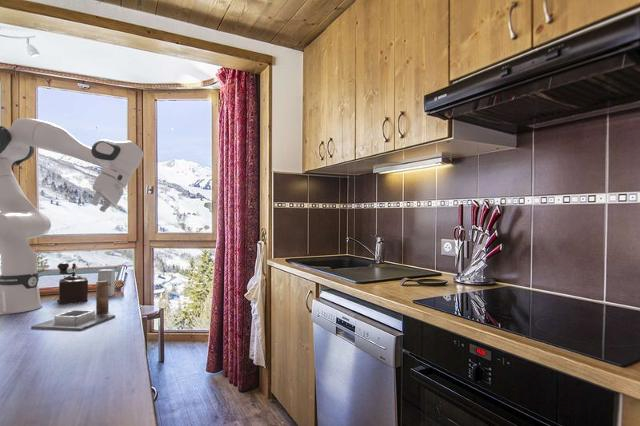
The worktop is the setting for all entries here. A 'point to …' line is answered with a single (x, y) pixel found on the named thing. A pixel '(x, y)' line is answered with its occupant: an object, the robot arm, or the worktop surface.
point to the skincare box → (108, 278)
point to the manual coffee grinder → (72, 286)
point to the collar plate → (74, 321)
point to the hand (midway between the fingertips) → (97, 208)
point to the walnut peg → (102, 297)
